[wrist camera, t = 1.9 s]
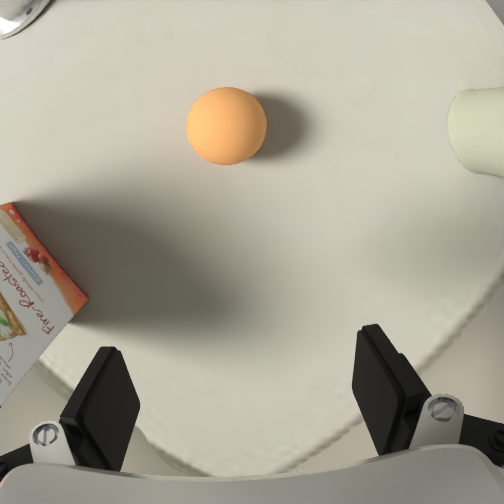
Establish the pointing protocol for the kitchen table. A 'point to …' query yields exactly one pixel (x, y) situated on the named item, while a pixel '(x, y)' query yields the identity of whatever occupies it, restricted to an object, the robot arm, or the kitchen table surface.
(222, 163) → the ball
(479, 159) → the can
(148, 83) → the kitchen table surface
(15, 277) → the cracker box
